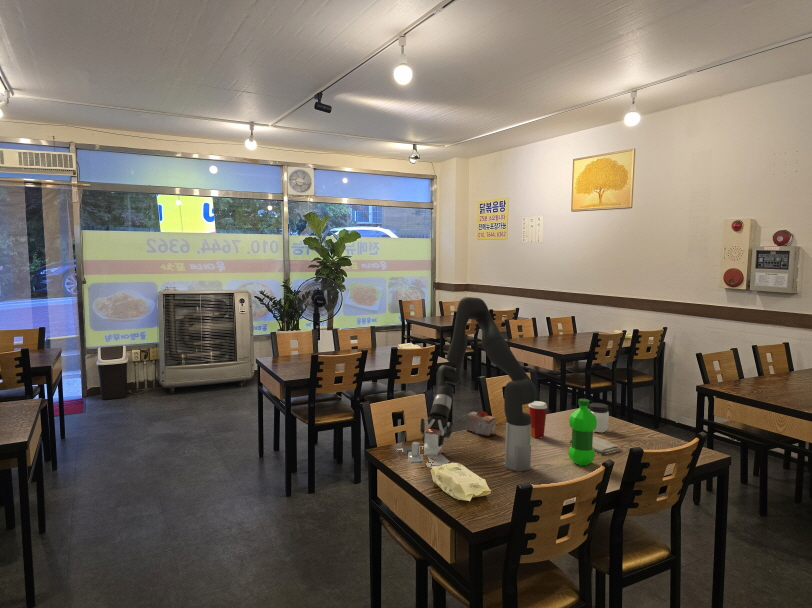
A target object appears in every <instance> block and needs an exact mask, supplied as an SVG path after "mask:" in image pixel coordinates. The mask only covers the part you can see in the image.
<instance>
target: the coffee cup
mask: <svg viewBox="0 0 812 608" xmlns="http://www.w3.org/2000/svg"><path fill="white" fill-rule="evenodd" d="M527 405H528V411H529V412H528V414H529V415H530V416H531V436H532V437H531V436H530V437H531V438H533V437H539V438H538V439H541V438H540V437H543V436H544V437H545V427H546V418H547V409H548V405H547V403H546V402H544V401H540V400H539V401H538V400H535V401H534V402H533V403H530V404H527ZM544 437H543V438H544Z"/></svg>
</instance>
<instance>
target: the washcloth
mask: <svg viewBox="0 0 812 608" xmlns="http://www.w3.org/2000/svg"><path fill="white" fill-rule="evenodd" d="M569 443H570V444H571V443H572V438H571V439H569ZM592 448H593V450H594V451H595V452H597V453H600V454H606V453H609V452H613V451H617V450H620V451H621V449H620V447H618V444H615V443H612V441H610V440H606V439H604V438H601V437H597V436H596V435H595V436H594V435H593V442H592ZM597 453H596V454H597Z"/></svg>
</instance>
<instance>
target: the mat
mask: <svg viewBox="0 0 812 608" xmlns="http://www.w3.org/2000/svg"><path fill="white" fill-rule="evenodd" d="M420 447H422V449H423V447H424V445H422V446H421V445H420ZM396 449H397V450H402V452H403V447H401V448H396ZM397 450H396V451H397ZM427 457H428V459H429V462H431V463H428V462H427V463H426V465H427V467H429V468H431V467H430V466H431V464H432V465H441V464H445V463H448V462H451V461H450V460H449V459H448V458H447V457H445V456H444V455H443V454H442V453H441V454H440V455H439V456H438V457H436V456H429V455H427ZM435 457H436V458H435ZM430 458H433V459H434V460H435V459H436V460H435V461H434V460H432V459H430ZM432 462H434V463H432Z"/></svg>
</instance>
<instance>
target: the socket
mask: <svg viewBox="0 0 812 608" xmlns="http://www.w3.org/2000/svg"><path fill="white" fill-rule="evenodd" d="M426 429H427V428H426ZM426 429H425V430H426ZM440 436H441V430H440V429H436V428H430V429H427V430H426V431H425V444H424V443H423V444H424V445H423V446H424V455H429V456H436V457H438V456H439V455H440V454H442V452H443V445H441V447H439V445H438V443H439V439H440Z"/></svg>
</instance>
